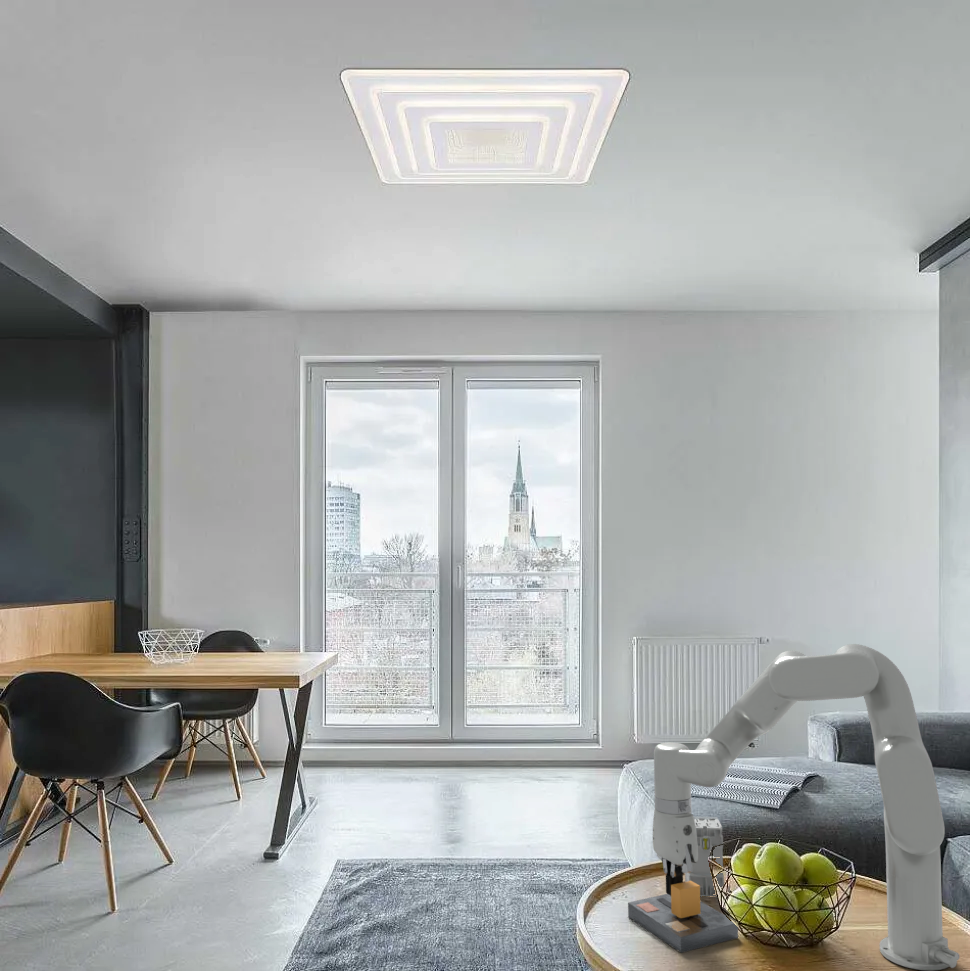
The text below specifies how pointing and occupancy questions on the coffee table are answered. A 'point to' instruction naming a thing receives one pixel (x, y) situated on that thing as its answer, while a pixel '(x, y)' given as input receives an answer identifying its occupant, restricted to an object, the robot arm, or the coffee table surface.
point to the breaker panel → (682, 924)
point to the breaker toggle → (685, 899)
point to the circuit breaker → (707, 854)
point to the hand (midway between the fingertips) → (674, 893)
